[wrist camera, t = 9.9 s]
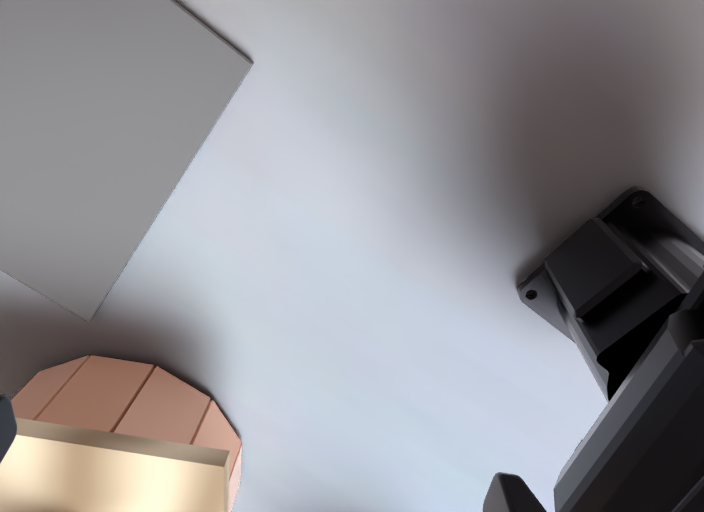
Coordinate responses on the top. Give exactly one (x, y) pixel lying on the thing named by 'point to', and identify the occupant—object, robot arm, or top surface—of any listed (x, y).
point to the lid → (109, 472)
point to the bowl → (129, 405)
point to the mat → (98, 133)
